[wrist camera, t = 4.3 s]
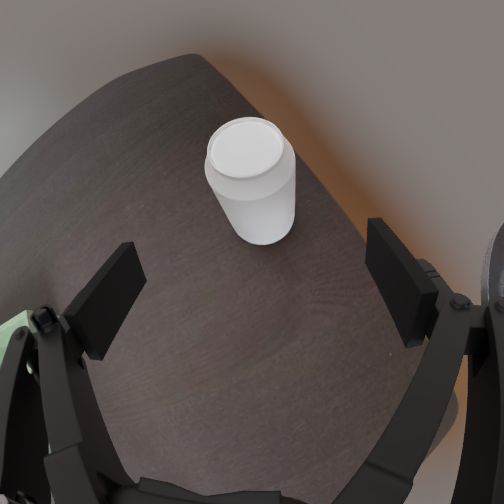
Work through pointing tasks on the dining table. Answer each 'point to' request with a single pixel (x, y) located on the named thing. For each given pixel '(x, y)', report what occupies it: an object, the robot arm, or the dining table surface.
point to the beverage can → (253, 178)
